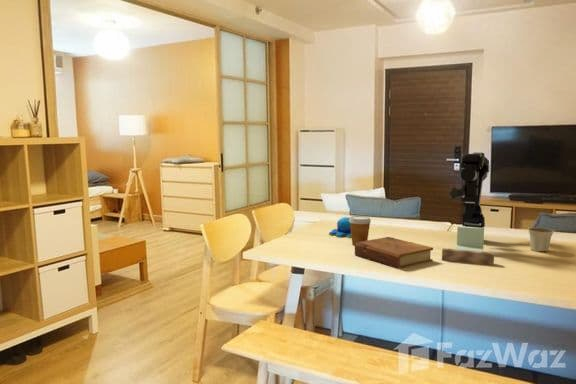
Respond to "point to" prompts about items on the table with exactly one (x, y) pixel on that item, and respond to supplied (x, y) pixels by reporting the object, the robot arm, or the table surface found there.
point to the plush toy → (342, 228)
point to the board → (468, 256)
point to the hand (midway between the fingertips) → (468, 219)
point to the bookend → (470, 238)
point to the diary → (393, 252)
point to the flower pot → (540, 238)
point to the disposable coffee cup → (359, 228)
